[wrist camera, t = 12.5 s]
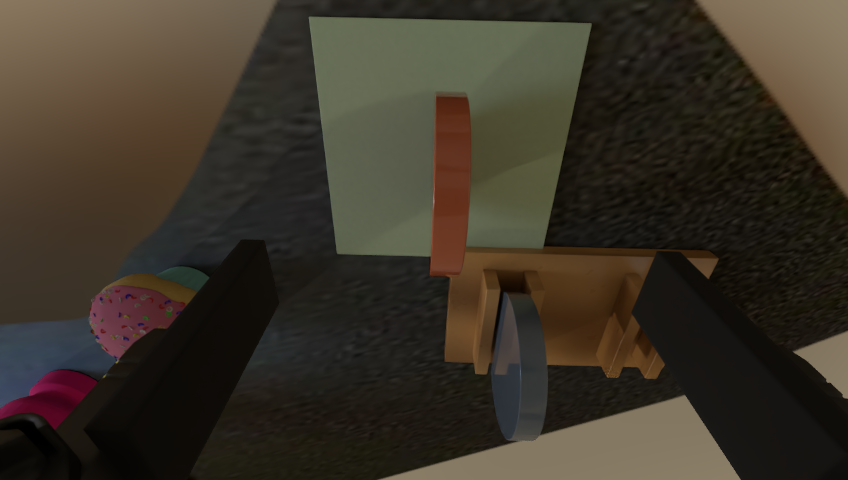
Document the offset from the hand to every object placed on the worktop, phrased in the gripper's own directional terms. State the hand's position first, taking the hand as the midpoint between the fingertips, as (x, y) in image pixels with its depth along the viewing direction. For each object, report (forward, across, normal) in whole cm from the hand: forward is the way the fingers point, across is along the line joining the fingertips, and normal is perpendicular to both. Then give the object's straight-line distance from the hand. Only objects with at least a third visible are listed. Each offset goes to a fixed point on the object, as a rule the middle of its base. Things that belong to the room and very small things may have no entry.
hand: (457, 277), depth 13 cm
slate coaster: (+8, +5, -14) cm, 17 cm away
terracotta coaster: (+9, 0, 0) cm, 9 cm away
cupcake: (+14, -21, -13) cm, 28 cm away
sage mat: (+14, 0, 0) cm, 14 cm away
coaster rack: (+14, +11, -14) cm, 22 cm away
